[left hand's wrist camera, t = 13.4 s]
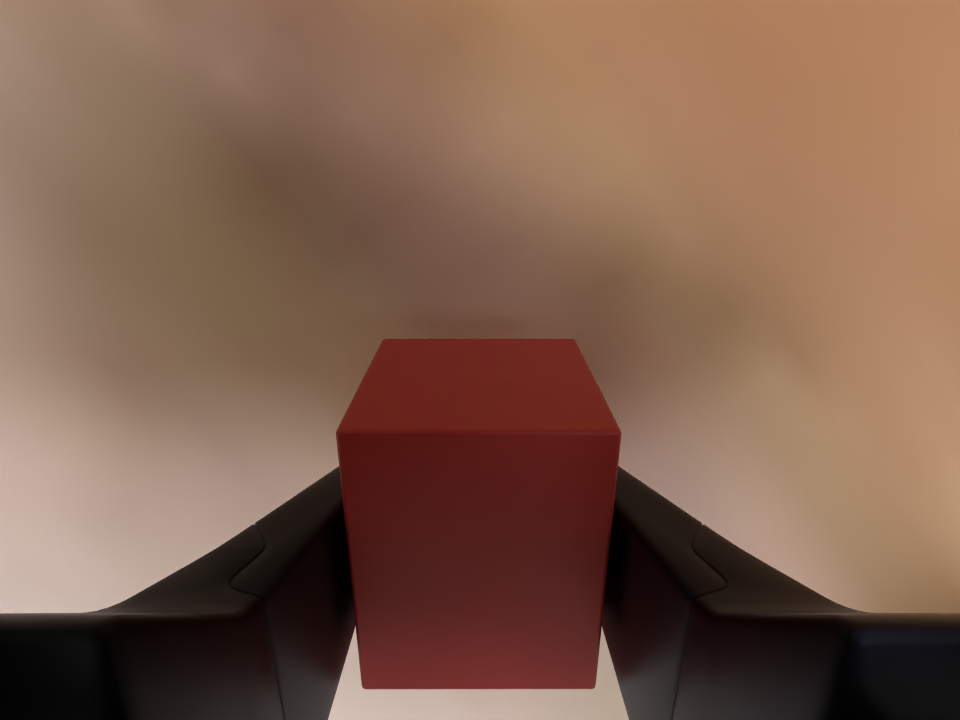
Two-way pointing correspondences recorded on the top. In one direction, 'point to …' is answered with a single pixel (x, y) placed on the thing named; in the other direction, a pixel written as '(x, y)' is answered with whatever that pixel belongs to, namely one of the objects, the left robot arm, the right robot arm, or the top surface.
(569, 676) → the brick
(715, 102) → the top surface
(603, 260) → the top surface
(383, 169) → the top surface
